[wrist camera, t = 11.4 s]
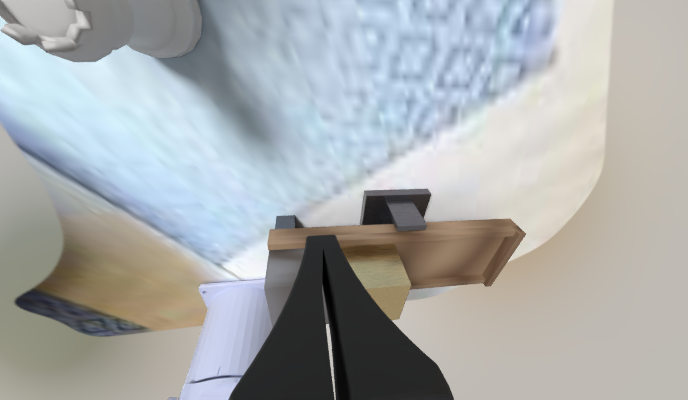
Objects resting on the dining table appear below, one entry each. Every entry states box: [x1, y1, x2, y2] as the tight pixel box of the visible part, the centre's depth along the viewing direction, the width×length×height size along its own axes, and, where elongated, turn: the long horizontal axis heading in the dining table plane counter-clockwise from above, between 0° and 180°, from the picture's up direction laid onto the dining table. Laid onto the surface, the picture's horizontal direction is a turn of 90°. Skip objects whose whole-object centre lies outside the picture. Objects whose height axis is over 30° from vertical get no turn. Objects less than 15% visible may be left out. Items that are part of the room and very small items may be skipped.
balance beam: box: [264, 219, 526, 328], centre depth 21 cm, size 21×7×5 cm, turn 87°
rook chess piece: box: [0, 0, 202, 62], centre depth 10 cm, size 4×4×8 cm
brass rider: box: [341, 244, 411, 320], centre depth 20 cm, size 5×5×4 cm
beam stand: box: [275, 189, 431, 231], centre depth 23 cm, size 14×10×4 cm
